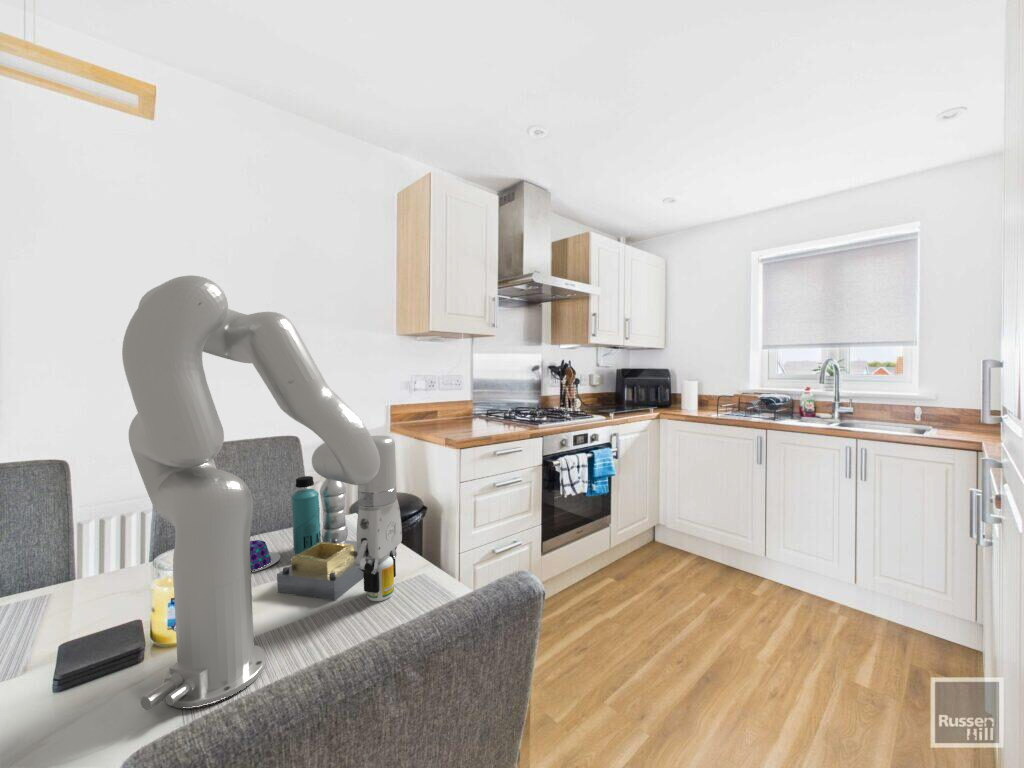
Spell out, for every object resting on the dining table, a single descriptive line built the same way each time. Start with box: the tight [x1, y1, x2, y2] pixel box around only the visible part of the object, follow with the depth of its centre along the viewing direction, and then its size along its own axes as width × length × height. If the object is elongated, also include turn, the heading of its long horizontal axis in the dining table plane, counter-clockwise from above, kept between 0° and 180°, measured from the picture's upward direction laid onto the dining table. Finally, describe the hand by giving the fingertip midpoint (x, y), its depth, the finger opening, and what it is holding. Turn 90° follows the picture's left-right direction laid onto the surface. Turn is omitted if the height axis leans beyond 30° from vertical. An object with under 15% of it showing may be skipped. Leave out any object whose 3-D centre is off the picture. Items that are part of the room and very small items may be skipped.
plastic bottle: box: [319, 478, 349, 542], centre depth 115 cm, size 6×7×20 cm
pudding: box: [250, 539, 281, 573], centre depth 104 cm, size 12×12×5 cm
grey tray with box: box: [276, 539, 370, 601], centre depth 99 cm, size 21×14×6 cm, turn 165°
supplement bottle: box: [366, 552, 395, 602], centre depth 88 cm, size 5×5×10 cm
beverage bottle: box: [291, 475, 322, 555], centre depth 108 cm, size 6×7×20 cm
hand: (380, 583), depth 88 cm, fingers closed on supplement bottle, 5 cm apart
